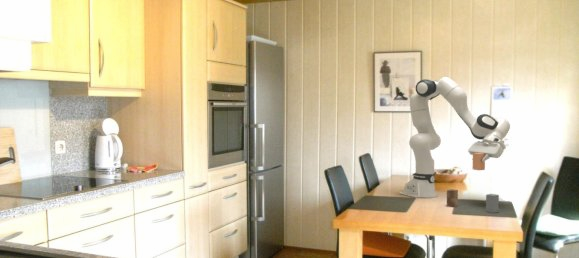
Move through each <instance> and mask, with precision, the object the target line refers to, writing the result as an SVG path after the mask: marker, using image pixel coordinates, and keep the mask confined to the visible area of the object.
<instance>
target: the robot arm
mask: <svg viewBox="0 0 579 258" xmlns="http://www.w3.org/2000/svg"><path fill="white" fill-rule="evenodd" d="M439 95H441V96H442V98H444V99H445V100H446V101H447V102H448V103H449V105H450V106H451V107H452V108H453V110H454V111H455V112H456V114H457V115H458V117H459V118H461V120H462V121H463V123H464V124H465V125H466V126H467V127H468V129H469V131H470V133H471V135H472V136H473V137H474V138H475V139H476V140H481V141H476V142H473V143H472V144H471V145H470V147H469V148H468V149H467V152H468V153H469V155H471V156H473V153H483V154H485V157H484V158H482V159H481V162H485V163H486V161H487V160H489V159H490V158H492V159H499V158H500V157H501V156H502V155H503V153H504V150H506V147H507V146H506V145H505V143H504V142H503V139H505V137H506V136H507V135H508V133H509V131H510V129H511V124H510V122H509V121H508V120H507V119H506V118H504V117H494V116H491V115H490V114H486V113H482V114H480V115H478V116H477V118H476V117H475V116H474V114H472V112H471V111H470V110H469V107H468V95H467V92H466V91H465V90H464V89H463V87H461V86H460V85H459V84H458V83H457V82H455V80H454V79H451V78H450V77H448V76H444V77H441V78H440V79H438V80H435V79H430V78H428V79H426V78H425V79H424V78H423V79H421V80H418V82H417V83H416V85H415V93H413V94H412V95H411V96H410V98H409V107H410V108H409V109H410V110H409V111H410V115H411V122H412V126H413V127H414V128H415V129H416V131H417V133H415V134H414V135H412V136H411V137H410V139H409V141H408V142H409V143H408V145H409V148H411V150H412V152H413V155H414V159H415V172H414V173H412V175H411V176H413V178H411V179H410V180H409V181H407V182H406V183H405V184H404V189H403V190H402V191H400V193H399V194H401V195H405V196H409V197H410V198H411V197H412V198H425V199H426V198H427V199H428V198H430V199H431V198H436V197H437V191H436V187H435V179H436V173H435V160H434V158H433V157H432V153H431V151H432V150H433V151H434V150H436V149H437V148H438V147H440V146H441V142H442V140H441V137H440V135H439V134H438V133H437V131H436V130H435V128H434V125H433V122H432V118H431V113H430V108H429V101H431V100H433V99H435V98H437V97H438V96H439ZM472 161H473V157H472Z"/></svg>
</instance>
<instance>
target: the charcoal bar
mask: <svg viewBox="0 0 579 258" xmlns="http://www.w3.org/2000/svg"><path fill="white" fill-rule="evenodd" d="M499 197H500V195H499V194H496V193H495V194H494V193H487V194H485V198H486V199H485V200H486V201H485V212H486V213H492V214H496V213H499V203H500V202H499V199H500V198H499Z"/></svg>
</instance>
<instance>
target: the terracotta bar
mask: <svg viewBox="0 0 579 258" xmlns="http://www.w3.org/2000/svg"><path fill="white" fill-rule="evenodd" d="M484 157H485V154H483V153H473V155H472V158H473V160H472V170H474V171H485V170H486V161H485V162H481V159H482V158H484Z"/></svg>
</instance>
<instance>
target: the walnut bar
mask: <svg viewBox="0 0 579 258" xmlns="http://www.w3.org/2000/svg"><path fill="white" fill-rule="evenodd" d="M458 193H459V190H458V189H453V188H449V189H447V190H446V207H451V208H456V207H458V204H459V203H458V199H459V198H458V196H459V195H458Z"/></svg>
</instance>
